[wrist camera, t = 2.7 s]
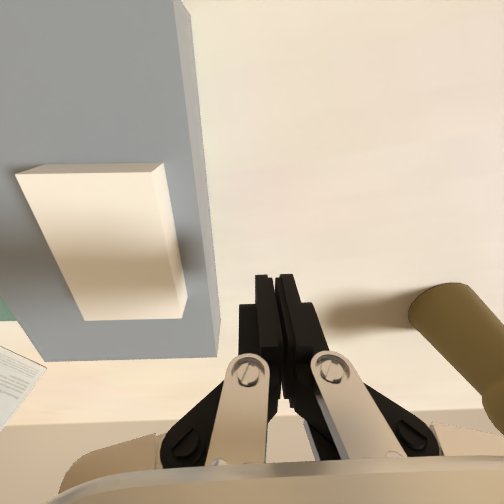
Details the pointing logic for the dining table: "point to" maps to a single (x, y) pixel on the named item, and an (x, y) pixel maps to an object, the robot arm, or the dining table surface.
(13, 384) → the supplement box
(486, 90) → the dining table surface
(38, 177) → the card
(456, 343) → the cork
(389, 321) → the dining table surface
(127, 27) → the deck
